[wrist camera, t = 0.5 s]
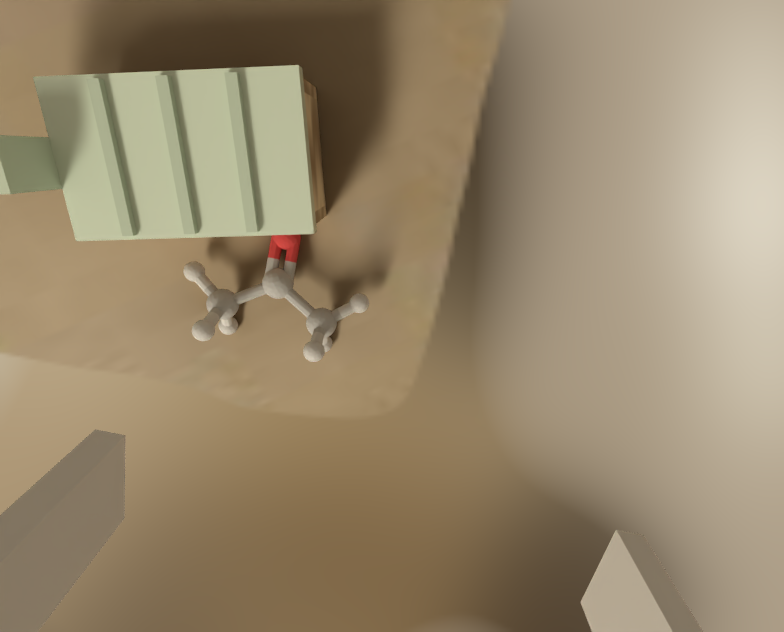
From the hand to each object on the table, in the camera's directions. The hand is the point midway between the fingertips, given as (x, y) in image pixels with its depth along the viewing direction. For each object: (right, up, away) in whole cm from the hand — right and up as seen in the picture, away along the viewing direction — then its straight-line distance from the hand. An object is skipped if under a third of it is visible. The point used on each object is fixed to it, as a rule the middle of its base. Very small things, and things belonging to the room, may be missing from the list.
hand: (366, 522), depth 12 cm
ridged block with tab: (-15, +15, +17) cm, 27 cm away
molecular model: (-8, +8, +26) cm, 28 cm away
